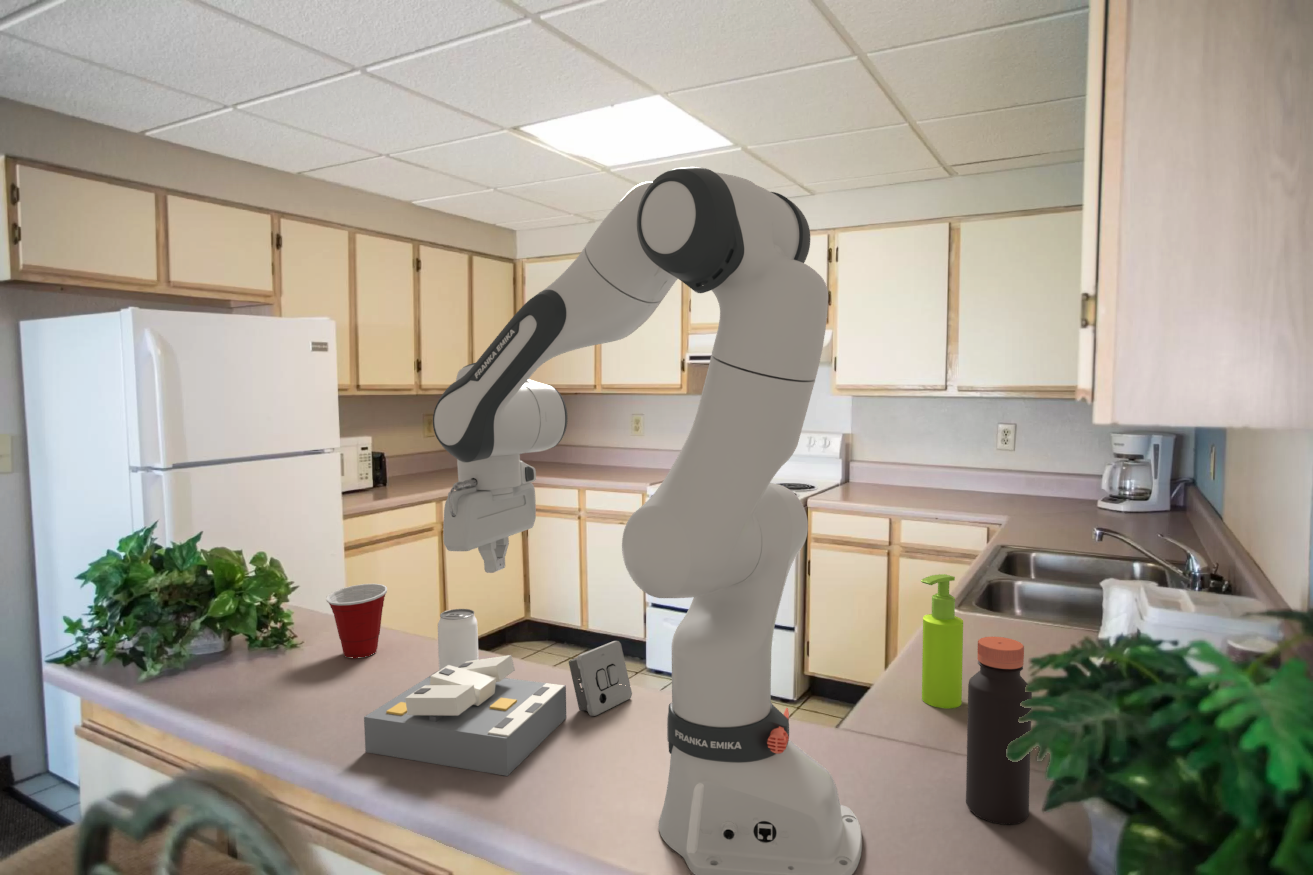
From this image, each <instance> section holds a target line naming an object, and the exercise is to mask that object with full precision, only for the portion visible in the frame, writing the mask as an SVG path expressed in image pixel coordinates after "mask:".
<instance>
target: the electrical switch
mask: <svg viewBox="0 0 1313 875" xmlns="http://www.w3.org/2000/svg"><path fill="white" fill-rule="evenodd" d="M568 666H569V670H570V675H571V680H572V683H573V689H574V693H575V697H576V698H575V699H576V702H577V706H578V710H579V711H586V712H588V714H589V716H590V717H594V716H595V717H596V716H598V715H600V714H602V713H604V712H605V711H608V710H609V709H611V708H614V707H615V706H618V705H619V704H622V703H624V702H626V701H628V700H630V699H631V698H632V695H633V692H632V688H631V687H630V686H631V683H630V678H629V674H628V670H627V669H628V668H627V665H626V661H625V656H624V652H623V647H622V643H621V642H620V641H619V640H613V641H611V642H608V643H605V644H603V645H601V646H598V647H595V648H593V649H590V650H587V651H586V652H583V653H580V654H579V655H577V656H576V657H575V658H572V659H570V660H568ZM619 684H622V685H619ZM625 685H626V686H625Z"/></svg>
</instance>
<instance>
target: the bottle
mask: <svg viewBox="0 0 1313 875" xmlns="http://www.w3.org/2000/svg"><path fill="white" fill-rule="evenodd" d="M1024 658H1025V645H1024V644H1023V643H1022V642H1019V641H1018V640H1016V639H1013V638H1008V637H1005V636H1004V637H1001V636H985V637H981V638H978V640H977V664H978V666H980V667H979V668H980V670H979V671H977V672H976V673H975V674H974V675H972V676H971V677H970V678H969V679H968V683H967V684H968V685H967V686H968V687H967V688H968V689H967V723H966V724H967V727H966V728H967V729H966V730H967V732H966V733H967V734H966V735H967V736H966V737H967V740H966V776H965V777H966V781H965V783H966V784H965V786H966V788H965V803H966V806H967V807H968V809H969V810H970V811H971V812H972V813H973V814H974V815H975V816H977V817H979V818H981V819H983V820H985V821H988V822H990V823H995V824H999V825H1017V824H1020V823H1022V822H1024V821H1026V819H1027V818H1028V817H1029V815H1030V814H1029V812H1030V811H1029V810H1030V809H1029V808H1030V777H1031V776H1030V775H1031V774H1030V773H1031V751H1030V752H1029V754H1027V755H1026V756H1025V757H1024V758H1023V759H1022V760H1020V761H1018V762H1012V761H1010V760H1008V758H1007V757H1006V749H1007V746H1008V744H1009V743H1010V742H1011V741H1013V740H1015V739H1016V738H1019V737H1020V736H1022V735H1023V734H1025V733H1026V732H1028V731H1030V730H1031V731H1032V720H1031V721H1028V722H1024V723H1019V722H1018V719H1019V717H1022V716H1024V715H1025V714H1027V713H1028V712H1029V711H1030V710H1031V711H1032V707H1031V708H1024V707H1022V706H1020V703H1021V702H1022V701H1025V700H1027V699H1032V700H1033V692H1025V687H1026V685H1029V684H1028V683H1027V681H1026V680H1025V679H1024V678H1023V677H1022V676H1021V672H1022V671H1023V670H1024V664H1025V663H1024Z"/></svg>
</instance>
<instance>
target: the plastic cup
mask: <svg viewBox="0 0 1313 875" xmlns="http://www.w3.org/2000/svg"><path fill="white" fill-rule="evenodd" d="M387 593H388V587H387V586H386V585H384V584H379V583H362V584H356V585H350V586H347V587H342V588H340V589H336V590H334V591H331V593H328V595H326V598H325V601H326V603H328V604H329V606H330V609H331V611H332V614H333V617H334V621H335V626H336V628H337V633H338V637H339V640H340V643H341V648H342V653H343V655H345V656H346V657H345V656H344V657H345V658H347V657H353V658H352V659H359V658H358V657H364V658H366V657H365V656H368V657H370V656H369V655H371V654H373V653H375V652H376V653H377V650H378V647H379V645H378V644H379V639H380V638H379V637H380V635H381V634H380V633H381V626H382V615H383V607H384V602H385V597H386V594H387ZM376 653H375V654H376ZM373 655H374V654H373ZM371 656H372V655H371Z"/></svg>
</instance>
